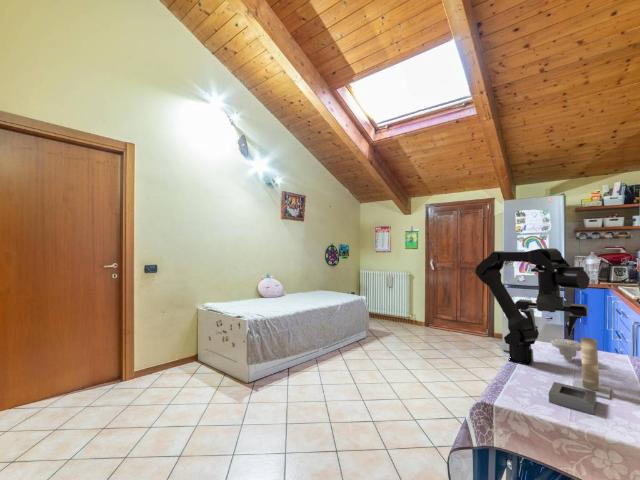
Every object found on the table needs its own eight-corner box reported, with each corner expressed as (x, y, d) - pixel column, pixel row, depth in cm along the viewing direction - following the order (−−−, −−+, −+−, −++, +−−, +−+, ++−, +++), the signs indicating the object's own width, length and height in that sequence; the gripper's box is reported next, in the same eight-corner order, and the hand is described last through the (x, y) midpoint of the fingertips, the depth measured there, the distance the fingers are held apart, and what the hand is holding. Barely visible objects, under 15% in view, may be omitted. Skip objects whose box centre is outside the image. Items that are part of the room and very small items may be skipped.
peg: (585, 389, 86) (583, 340, 87) (580, 384, 90) (578, 337, 90) (601, 391, 85) (599, 341, 85) (595, 386, 88) (593, 338, 89)
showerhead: (557, 334, 117) (589, 341, 108) (557, 353, 117) (590, 361, 108) (543, 338, 112) (576, 346, 104) (544, 358, 112) (577, 367, 103)
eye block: (548, 402, 81) (548, 392, 81) (554, 390, 88) (554, 381, 88) (593, 414, 75) (593, 404, 75) (596, 401, 81) (595, 391, 81)
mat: (571, 390, 87) (571, 388, 87) (574, 381, 93) (574, 379, 93) (609, 399, 82) (609, 397, 82) (610, 389, 87) (610, 387, 87)
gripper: (510, 286, 101) (512, 333, 101) (583, 290, 88) (586, 345, 87) (518, 283, 109) (520, 326, 108) (587, 287, 96) (589, 336, 95)
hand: (551, 333), depth 100 cm, fingers open, 9 cm apart
